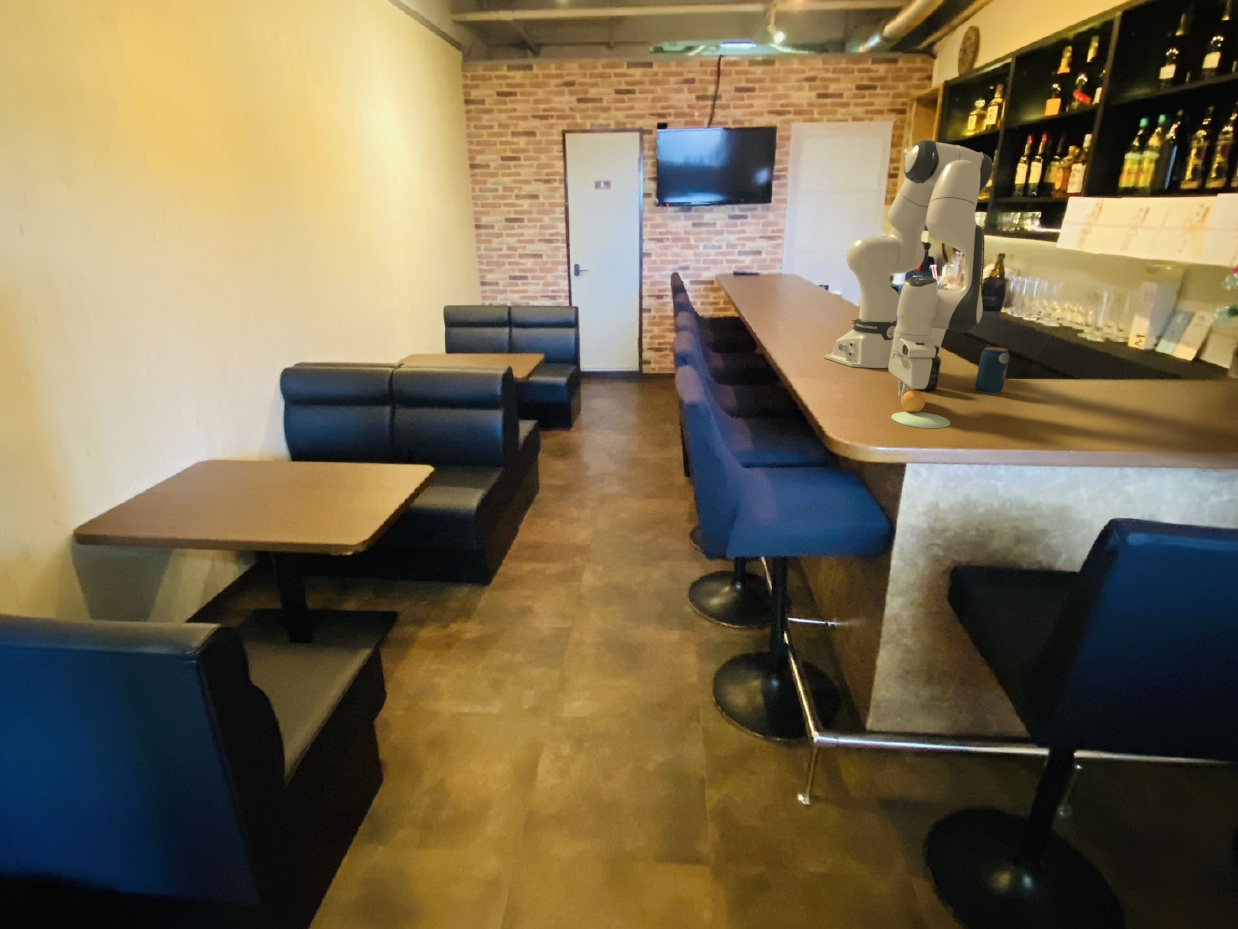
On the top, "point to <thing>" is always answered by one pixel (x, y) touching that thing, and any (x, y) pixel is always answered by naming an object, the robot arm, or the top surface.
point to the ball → (913, 401)
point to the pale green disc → (920, 420)
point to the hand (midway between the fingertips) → (903, 397)
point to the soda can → (992, 370)
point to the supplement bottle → (933, 373)
